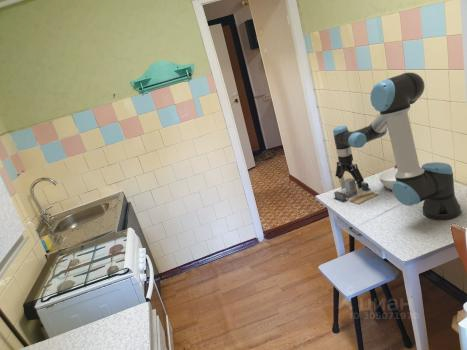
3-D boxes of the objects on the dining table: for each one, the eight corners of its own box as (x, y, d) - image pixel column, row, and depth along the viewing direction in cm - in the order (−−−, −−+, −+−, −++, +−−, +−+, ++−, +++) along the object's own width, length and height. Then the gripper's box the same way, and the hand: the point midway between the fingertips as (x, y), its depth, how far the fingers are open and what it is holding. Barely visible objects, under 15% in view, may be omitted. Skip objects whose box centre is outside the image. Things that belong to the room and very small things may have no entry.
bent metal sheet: (361, 192, 207) (359, 177, 205) (347, 198, 204) (344, 183, 202) (356, 190, 211) (354, 175, 208) (342, 197, 208) (339, 182, 205)
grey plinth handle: (370, 189, 207) (369, 183, 206) (343, 202, 201) (342, 195, 200) (360, 186, 214) (359, 180, 213) (334, 199, 208) (332, 192, 207)
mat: (378, 194, 199) (378, 193, 198) (358, 204, 194) (358, 203, 194) (367, 191, 206) (367, 190, 206) (347, 201, 201) (347, 200, 201)
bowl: (376, 185, 211) (374, 173, 209) (409, 177, 209) (407, 165, 207) (387, 196, 194) (385, 183, 192) (423, 188, 192) (422, 175, 190)
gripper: (366, 155, 191) (373, 193, 197) (335, 149, 213) (342, 184, 219) (355, 160, 188) (362, 198, 195) (324, 154, 211) (331, 188, 217)
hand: (351, 190), depth 207 cm, fingers open, 13 cm apart
